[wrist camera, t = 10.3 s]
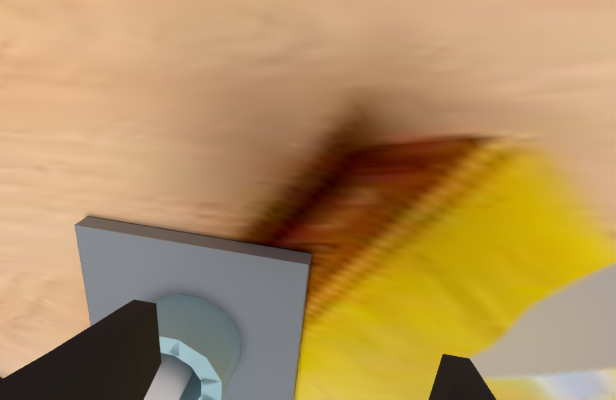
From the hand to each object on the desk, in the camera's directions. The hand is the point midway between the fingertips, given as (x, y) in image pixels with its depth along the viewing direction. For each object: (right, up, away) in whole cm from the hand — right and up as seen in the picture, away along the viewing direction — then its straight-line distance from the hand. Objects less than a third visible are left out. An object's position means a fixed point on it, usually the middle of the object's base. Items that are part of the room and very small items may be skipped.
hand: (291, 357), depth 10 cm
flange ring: (-6, -4, +12) cm, 14 cm away
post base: (-6, -3, +13) cm, 14 cm away
